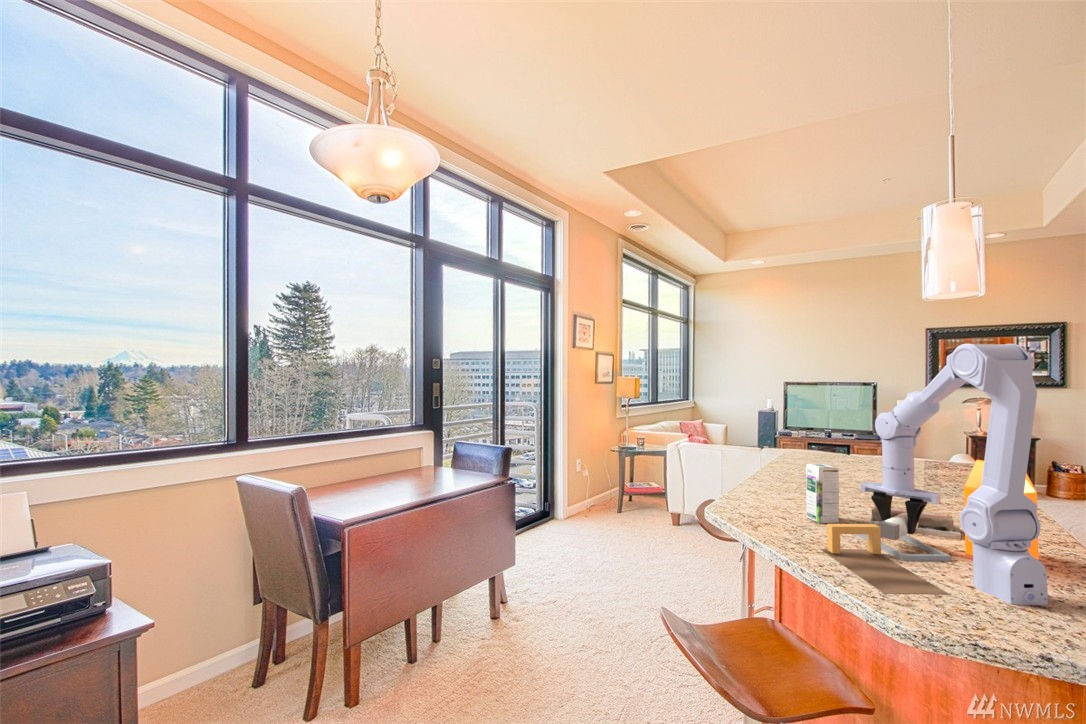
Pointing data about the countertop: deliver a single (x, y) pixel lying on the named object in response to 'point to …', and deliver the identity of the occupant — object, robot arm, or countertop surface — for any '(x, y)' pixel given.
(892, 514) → the packaged product
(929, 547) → the tray
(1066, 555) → the countertop surface
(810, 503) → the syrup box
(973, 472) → the orange juice
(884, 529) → the white cylinder grey cap
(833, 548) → the yellow bridge block
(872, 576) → the board
